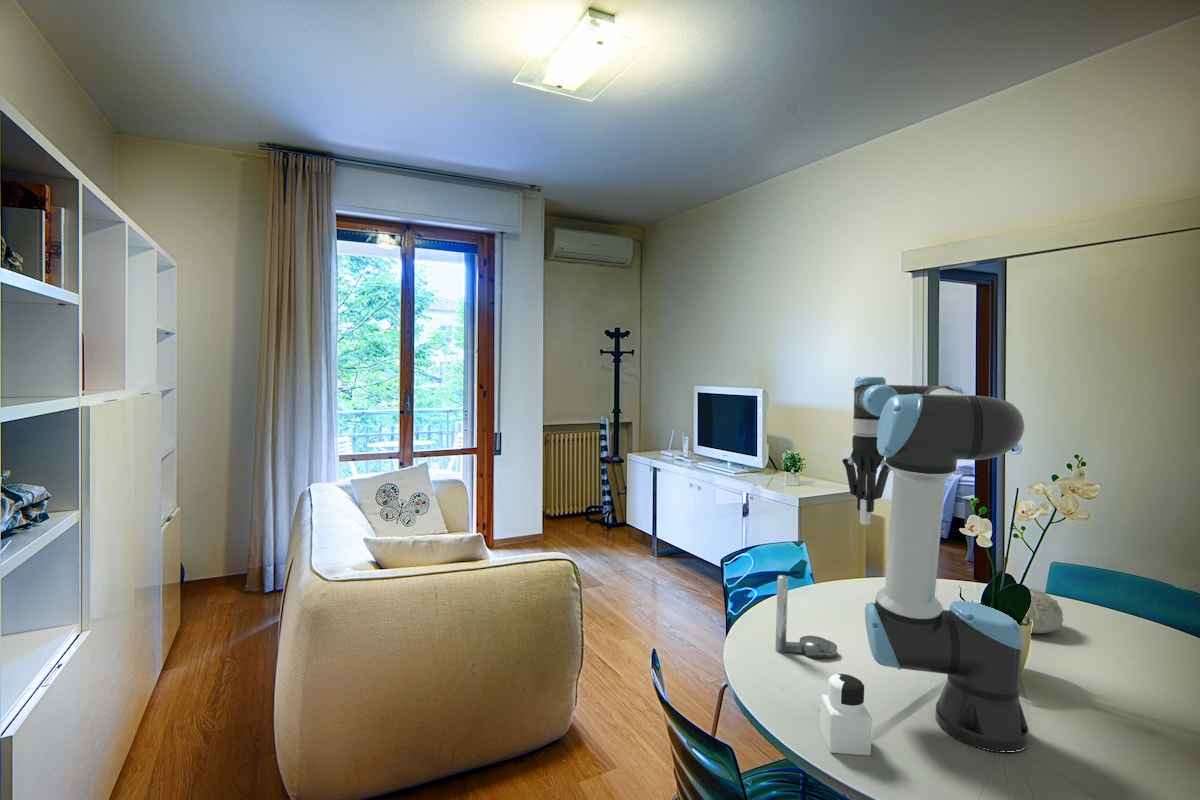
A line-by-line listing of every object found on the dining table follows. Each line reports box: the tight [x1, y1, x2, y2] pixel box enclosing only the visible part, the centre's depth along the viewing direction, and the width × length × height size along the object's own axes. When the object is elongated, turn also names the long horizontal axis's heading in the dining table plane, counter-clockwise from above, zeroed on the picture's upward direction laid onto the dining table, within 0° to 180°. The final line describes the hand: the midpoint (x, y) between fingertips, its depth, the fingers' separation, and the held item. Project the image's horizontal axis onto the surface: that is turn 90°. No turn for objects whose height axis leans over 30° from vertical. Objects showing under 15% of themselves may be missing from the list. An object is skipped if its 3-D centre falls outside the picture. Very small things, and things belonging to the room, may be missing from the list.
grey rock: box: [1027, 587, 1064, 634], centre depth 163 cm, size 18×18×10 cm
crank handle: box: [775, 574, 838, 660], centre depth 143 cm, size 14×7×18 cm, turn 85°
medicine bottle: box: [819, 673, 873, 756], centre depth 110 cm, size 7×7×12 cm
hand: (864, 523), depth 159 cm, fingers closed
